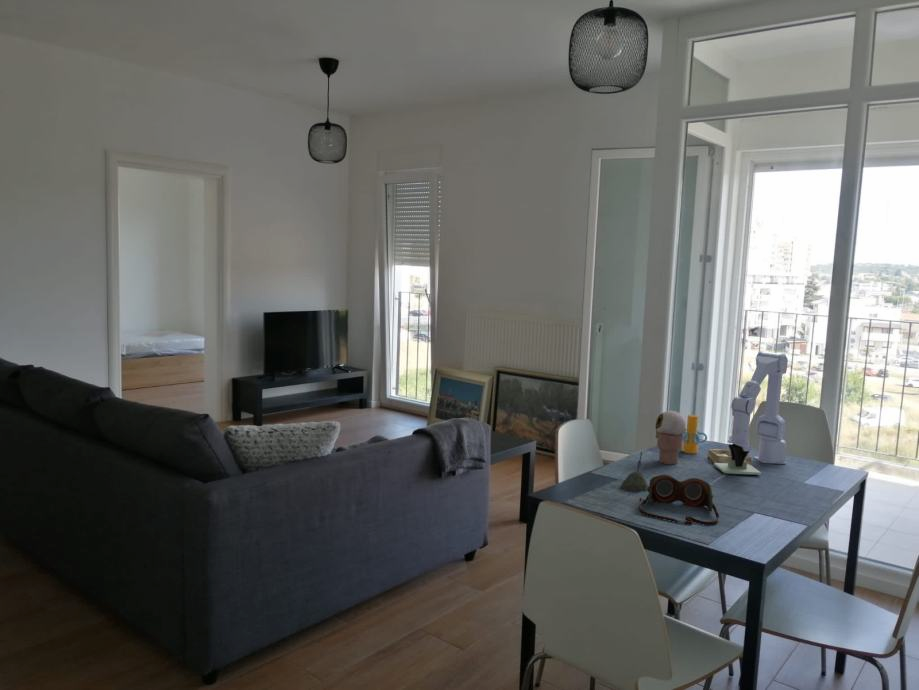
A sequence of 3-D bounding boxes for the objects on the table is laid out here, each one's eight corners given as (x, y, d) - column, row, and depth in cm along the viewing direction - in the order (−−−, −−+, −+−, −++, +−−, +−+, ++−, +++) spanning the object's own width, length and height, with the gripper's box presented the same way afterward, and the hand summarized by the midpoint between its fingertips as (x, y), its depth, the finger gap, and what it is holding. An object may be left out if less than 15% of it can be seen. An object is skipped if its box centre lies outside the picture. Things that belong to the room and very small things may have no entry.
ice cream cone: (647, 458, 276) (651, 408, 274) (671, 457, 280) (675, 407, 277) (663, 466, 266) (667, 414, 264) (688, 465, 270) (692, 413, 267)
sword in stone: (637, 494, 233) (638, 458, 232) (616, 489, 238) (617, 454, 237) (653, 488, 240) (655, 453, 239) (633, 483, 245) (634, 449, 244)
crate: (740, 459, 282) (741, 450, 282) (750, 466, 272) (751, 457, 272) (707, 457, 282) (708, 449, 282) (716, 464, 272) (717, 455, 272)
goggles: (646, 523, 206) (650, 489, 205) (625, 498, 230) (628, 467, 229) (729, 528, 207) (733, 495, 206) (699, 503, 231) (703, 472, 230)
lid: (749, 468, 269) (750, 457, 269) (760, 476, 259) (761, 465, 259) (713, 466, 269) (714, 456, 269) (724, 475, 259) (725, 464, 259)
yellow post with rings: (670, 447, 295) (673, 412, 293) (694, 447, 297) (697, 412, 295) (685, 456, 283) (688, 419, 281) (709, 455, 285) (712, 419, 283)
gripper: (722, 424, 270) (719, 459, 271) (737, 433, 255) (734, 470, 257) (741, 425, 270) (737, 460, 271) (757, 434, 255) (753, 471, 257)
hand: (737, 465), depth 264 cm, fingers closed on lid, 2 cm apart
